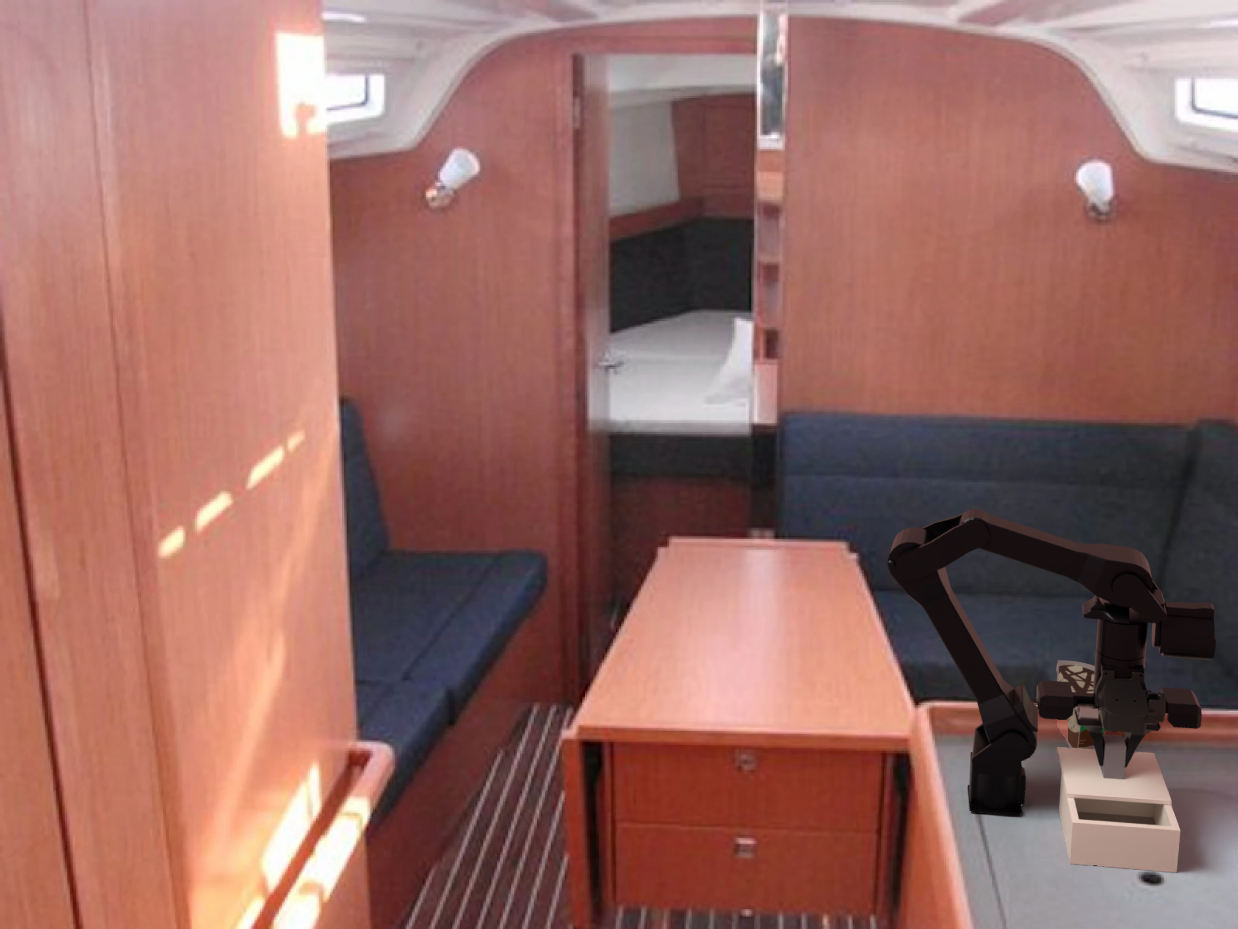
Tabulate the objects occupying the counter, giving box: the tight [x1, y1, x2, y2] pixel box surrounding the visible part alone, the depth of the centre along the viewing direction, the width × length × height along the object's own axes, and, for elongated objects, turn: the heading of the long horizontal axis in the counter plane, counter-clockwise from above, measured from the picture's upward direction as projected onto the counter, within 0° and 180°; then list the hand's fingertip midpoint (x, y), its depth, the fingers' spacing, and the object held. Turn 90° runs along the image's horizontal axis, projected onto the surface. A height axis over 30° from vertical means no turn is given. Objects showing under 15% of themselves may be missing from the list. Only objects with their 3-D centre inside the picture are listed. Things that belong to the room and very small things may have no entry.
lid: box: [1056, 733, 1172, 806], centre depth 164 cm, size 12×12×5 cm
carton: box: [1058, 772, 1181, 873], centre depth 160 cm, size 12×12×6 cm
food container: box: [1055, 659, 1107, 749], centre depth 184 cm, size 12×6×10 cm, turn 179°
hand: (1112, 765), depth 164 cm, fingers closed on lid, 2 cm apart
